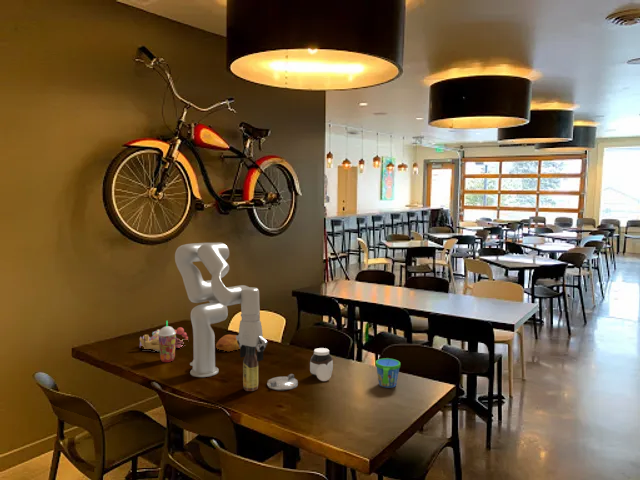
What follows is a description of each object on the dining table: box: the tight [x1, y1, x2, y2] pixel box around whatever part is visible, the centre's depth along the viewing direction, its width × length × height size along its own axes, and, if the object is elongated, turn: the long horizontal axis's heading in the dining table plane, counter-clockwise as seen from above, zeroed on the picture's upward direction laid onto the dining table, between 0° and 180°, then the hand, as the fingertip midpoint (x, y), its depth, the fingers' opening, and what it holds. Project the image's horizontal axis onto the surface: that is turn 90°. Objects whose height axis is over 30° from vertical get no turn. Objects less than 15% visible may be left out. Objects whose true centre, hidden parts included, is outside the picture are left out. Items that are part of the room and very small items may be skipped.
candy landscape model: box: [139, 326, 189, 352], centre depth 260 cm, size 25×24×9 cm
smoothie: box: [158, 320, 177, 363], centre depth 234 cm, size 8×8×20 cm
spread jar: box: [309, 347, 334, 382], centre depth 213 cm, size 12×11×12 cm
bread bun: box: [215, 333, 240, 352], centre depth 256 cm, size 15×16×8 cm
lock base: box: [266, 373, 299, 391], centre depth 204 cm, size 13×13×3 cm
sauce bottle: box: [242, 346, 259, 392], centre depth 198 cm, size 6×6×20 cm
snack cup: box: [375, 357, 401, 389], centre depth 203 cm, size 16×10×10 cm
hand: (251, 358), depth 197 cm, fingers open, 9 cm apart
